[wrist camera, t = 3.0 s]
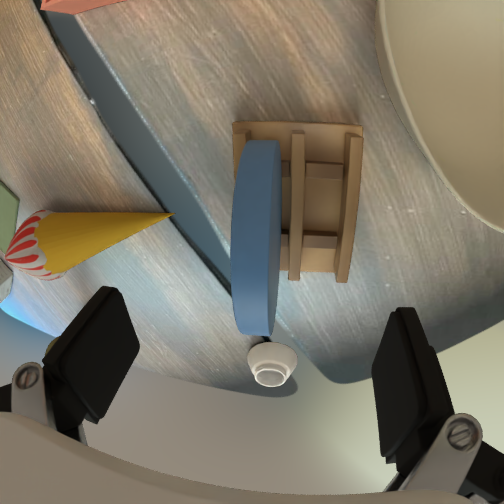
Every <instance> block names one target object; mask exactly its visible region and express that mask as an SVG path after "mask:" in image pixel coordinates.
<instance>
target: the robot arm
mask: <svg viewBox="0 0 504 504" xmlns="http://www.w3.org/2000/svg"><path fill="white" fill-rule="evenodd" d="M139 349H140V344H139V341H138V338H137V335H136V333H135V330H134V327H133V325H132V322H131V319H130V316H129V313H128V311H127V308H126V305H125V302H124V299H123V296H122V294H121V292H119V290H118V289H117V288H115V287H107V286H102V287H101V288H99V290H98V291H97V292H96V293H95V294H94V295H93V297H92V298H91V299H90V300H89V301H88V302H87V304H86V305H85V306H84V307H83V308H82V310H81V311H80V312H79V313H78V314H77V316H76V317H75V318H74V319H73V321H72V322H71V323H70V324H69V326H68V327H67V328H66V329H65V331H64V332H63V333H62V334H61V336H60V337H59V338H58V340H57V341H56V342H55V343H54V345H53V346H52V347H51V349H50V350H49V351H48V353H47V354H46V355H45V357H44V358H43V359H42V362H43V364H44V366H43V368H42V367H41V366H40V364H38V363H36V362H28V363H25V364H23V365H21V366H20V367H19V368H18V369H17V370H16V371H15V373H14V375H13V378H12V383H11V384H8V385H5V386H2V387H0V504H504V454H503V453H501V452H499V451H498V450H496V449H495V448H493V447H492V446H490V445H488V444H487V443H485V442H484V441H482V437H483V435H482V428H481V425H480V423H479V422H478V421H477V419H475V418H474V417H473V416H471V415H468V414H466V413H458V414H455V412H454V409H453V405H452V402H451V398H450V395H449V392H448V388H447V385H446V382H445V379H444V376H443V373H442V369H441V366H440V364H439V361H438V358H437V355H436V352H435V350H434V348H433V347H432V346H429V344H428V341H427V338H426V336H425V333H424V330H423V328H422V325H421V323H420V320H419V317H418V315H417V312H416V310H415V308H413V307H398V308H397V309H396V311H395V312H391V314H390V316H389V319H388V322H387V325H386V328H385V331H384V334H383V337H382V340H381V343H380V346H379V348H378V351H377V354H376V356H375V359H374V362H373V364H372V380H373V387H374V395H375V402H376V411H377V420H378V429H379V440H380V452H381V456H382V457H386V464H390V463H396V468H397V471H398V473H397V474H396V476H395V477H394V478H393V479H392V481H391V482H390V483H389V484H388V486H387V487H386V488H385V490H384V491H383V492H379V493H378V492H377V493H365V494H349V495H296V494H279V493H266V492H257V491H249V490H241V489H234V488H228V487H222V486H216V485H211V484H206V483H201V482H196V481H192V480H188V479H184V478H180V477H176V476H172V475H168V474H165V473H161V472H158V471H154V470H151V469H148V468H144V467H142V466H139V465H136V464H133V463H130V462H127V461H124V460H121V459H119V458H116V457H114V456H111V455H108V454H106V453H103V452H101V451H98V450H96V449H94V448H92V447H89V446H88V445H87V441H86V437H85V433H84V429H83V424H82V421H83V420H84V418H85V419H86V420H87V421H90V422H92V423H95V424H98V422H99V419H101V418H103V417H104V416H105V414H106V412H107V410H108V408H109V406H110V404H111V402H112V400H113V398H114V397H115V395H116V393H117V391H118V389H119V387H120V385H121V383H122V381H123V380H124V378H125V376H126V374H127V372H128V370H129V368H130V367H131V365H132V363H133V361H134V359H135V358H136V356H137V354H138V352H139Z"/></svg>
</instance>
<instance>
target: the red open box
mask: <svg viewBox="0 0 504 504" xmlns="http://www.w3.org/2000/svg"><path fill="white" fill-rule="evenodd" d="M122 1H126V0H42V5H41V10H48V11H55V12H62V13H68V14H73V15H74V14H77V13H80V12H83V11H87V10H90V9H94V8H97V7H101V6H105V5H109V4H113V3H117V2H122Z"/></svg>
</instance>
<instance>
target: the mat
mask: <svg viewBox="0 0 504 504" xmlns="http://www.w3.org/2000/svg"><path fill="white" fill-rule="evenodd" d="M18 206H19V198H17V197H16V196H15V195H14V194H13V193H12V192H11V191H10V190H9V189H8V188H7V187H6V186H5V185H4V184H3V183H2V182H1V181H0V250H1V251H2V252H3V253H4V254H5V255H6V252H7V249H8V246H9V244H10V242H11V240H12V238H13V237H14V235H15V228H16V220H17V213H18Z"/></svg>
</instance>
